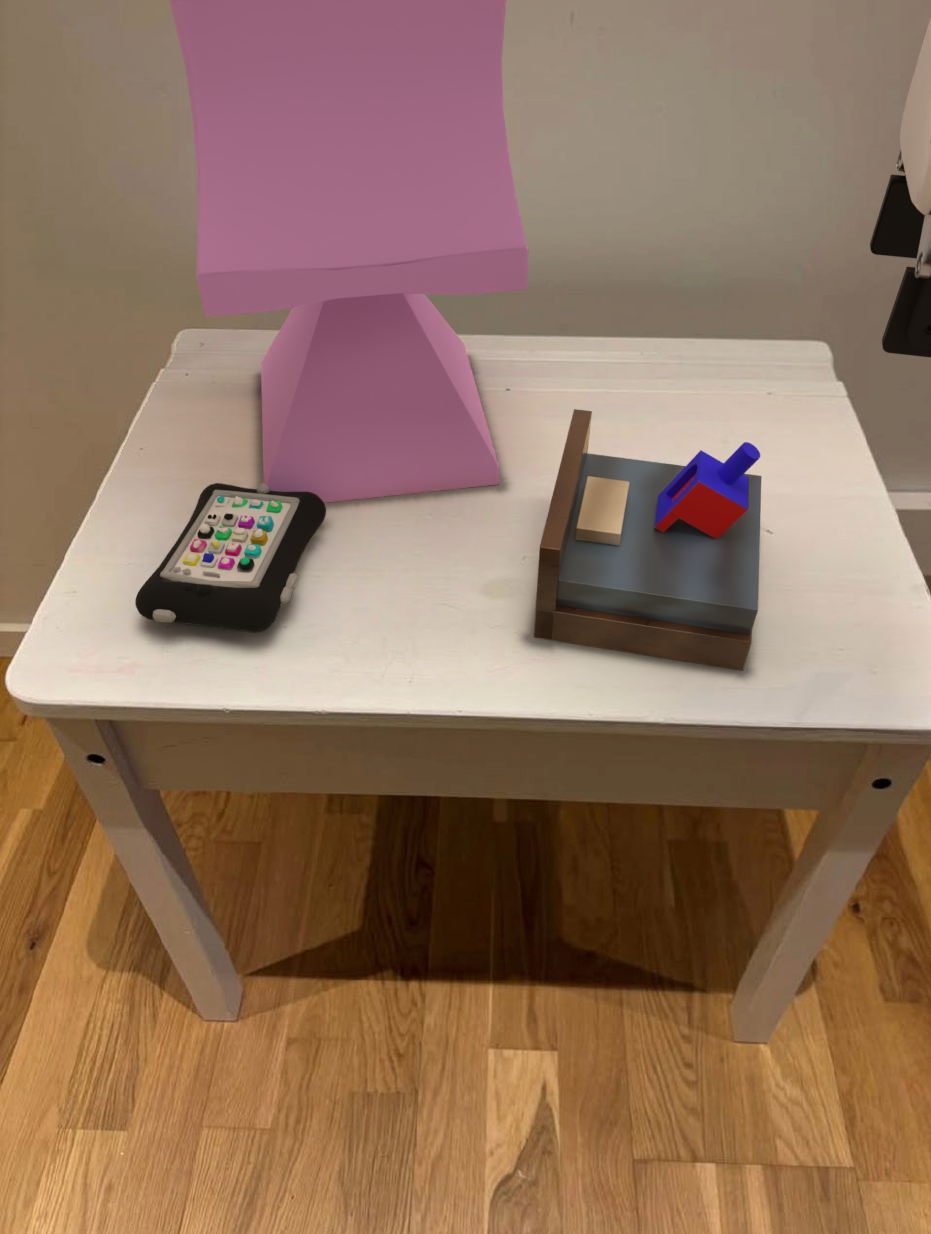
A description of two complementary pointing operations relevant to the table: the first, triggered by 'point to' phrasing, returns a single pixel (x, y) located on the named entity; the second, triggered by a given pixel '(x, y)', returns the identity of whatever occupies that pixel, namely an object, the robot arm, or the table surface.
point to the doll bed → (608, 623)
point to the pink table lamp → (356, 225)
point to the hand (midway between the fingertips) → (907, 300)
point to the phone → (233, 559)
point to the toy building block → (708, 492)
